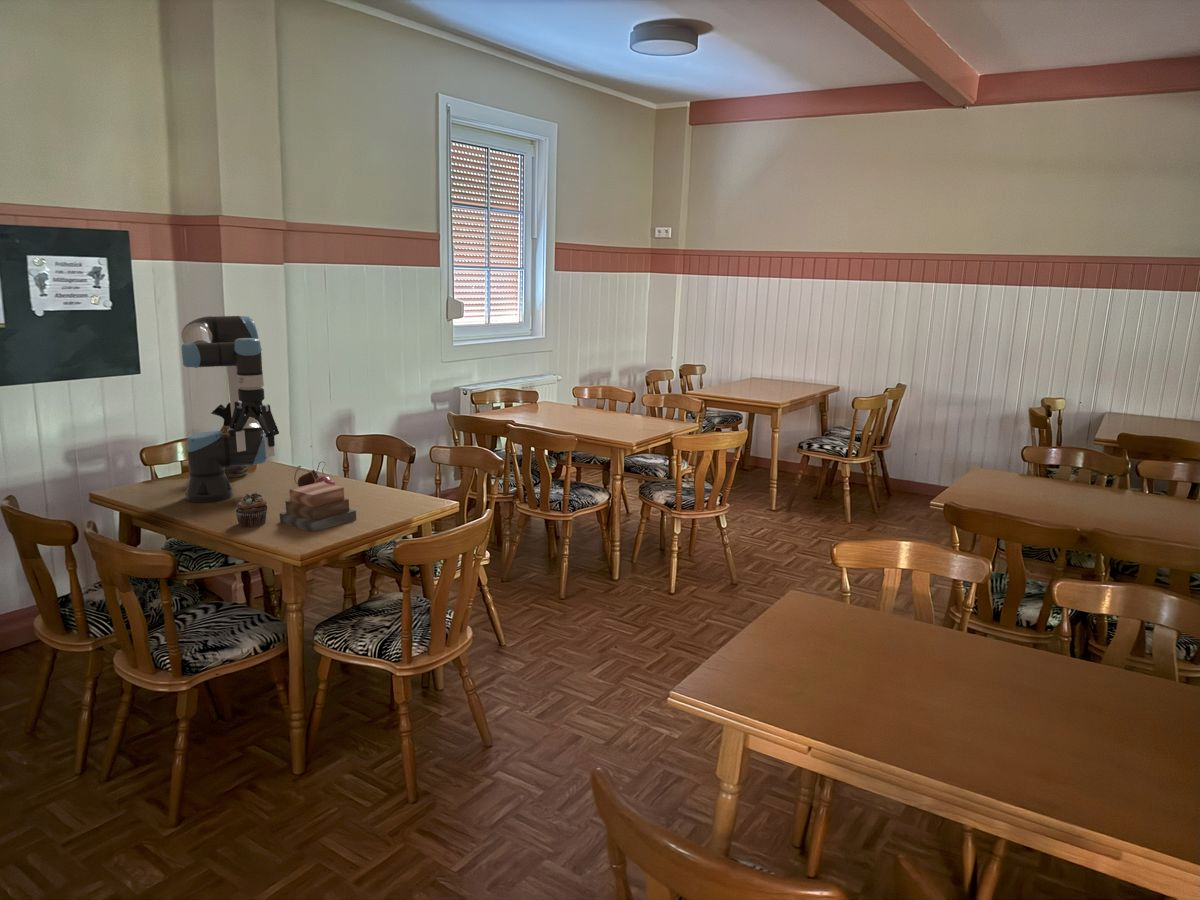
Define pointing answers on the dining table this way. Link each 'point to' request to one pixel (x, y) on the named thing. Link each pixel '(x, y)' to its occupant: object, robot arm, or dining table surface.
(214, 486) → the robot arm
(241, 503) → the cupcake
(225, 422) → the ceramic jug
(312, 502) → the stepped pyramid block
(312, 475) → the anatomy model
